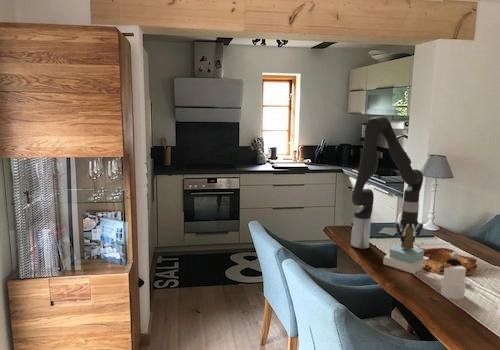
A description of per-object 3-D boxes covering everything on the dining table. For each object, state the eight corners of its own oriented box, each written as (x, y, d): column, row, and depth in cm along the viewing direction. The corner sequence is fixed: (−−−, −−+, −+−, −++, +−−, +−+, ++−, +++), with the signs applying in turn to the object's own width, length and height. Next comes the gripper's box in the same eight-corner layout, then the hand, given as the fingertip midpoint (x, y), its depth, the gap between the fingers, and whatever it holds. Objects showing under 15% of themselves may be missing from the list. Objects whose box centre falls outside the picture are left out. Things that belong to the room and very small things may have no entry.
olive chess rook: (398, 244, 207) (400, 224, 205) (410, 244, 208) (411, 224, 206) (404, 249, 201) (405, 227, 199) (415, 248, 202) (417, 227, 200)
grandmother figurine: (460, 277, 192) (463, 251, 190) (461, 280, 189) (464, 254, 186) (442, 274, 195) (445, 249, 192) (443, 277, 191) (446, 252, 189)
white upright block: (451, 300, 169) (454, 273, 167) (436, 291, 178) (438, 265, 175) (469, 298, 172) (472, 271, 169) (452, 288, 180) (455, 263, 178)
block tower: (383, 263, 207) (384, 248, 205) (398, 256, 217) (399, 241, 216) (413, 273, 195) (415, 258, 194) (428, 265, 206) (429, 250, 204)
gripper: (398, 211, 198) (395, 245, 201) (427, 212, 197) (424, 245, 200) (393, 207, 205) (390, 239, 208) (422, 208, 204) (418, 240, 208)
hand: (407, 242), depth 204 cm, fingers closed on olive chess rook, 3 cm apart
